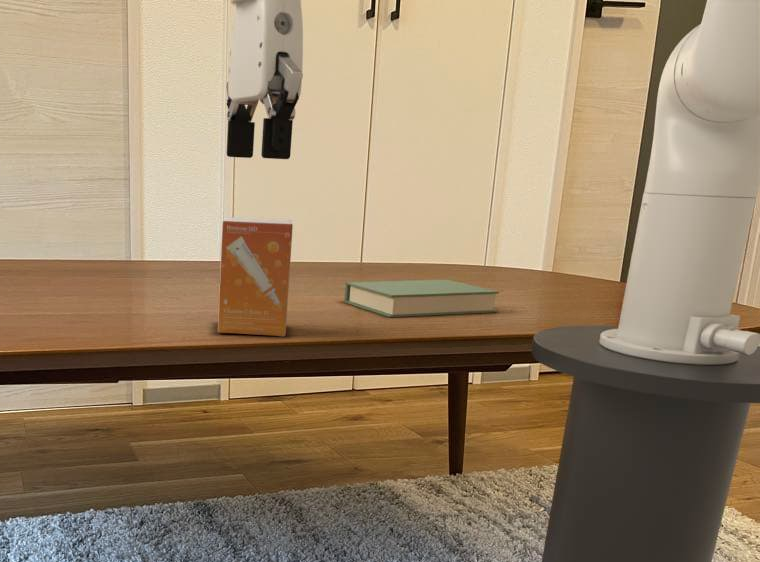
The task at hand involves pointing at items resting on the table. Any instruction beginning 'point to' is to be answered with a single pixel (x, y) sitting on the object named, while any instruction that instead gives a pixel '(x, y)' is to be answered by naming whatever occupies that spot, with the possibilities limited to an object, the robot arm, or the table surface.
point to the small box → (254, 276)
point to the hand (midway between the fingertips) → (256, 157)
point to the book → (420, 297)
